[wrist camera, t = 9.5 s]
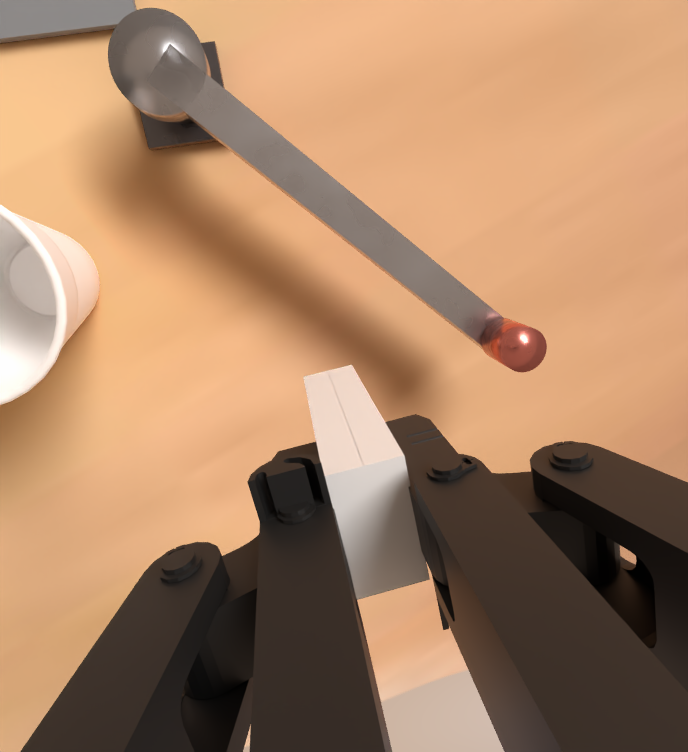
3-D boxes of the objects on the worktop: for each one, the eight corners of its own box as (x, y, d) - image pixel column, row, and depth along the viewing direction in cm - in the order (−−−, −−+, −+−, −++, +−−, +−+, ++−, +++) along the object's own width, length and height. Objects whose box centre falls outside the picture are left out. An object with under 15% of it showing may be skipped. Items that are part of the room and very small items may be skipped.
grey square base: (152, 150, 31) (130, 136, 26) (129, 57, 30) (102, 25, 25) (234, 138, 31) (227, 122, 27) (216, 46, 30) (205, 12, 25)
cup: (102, 181, 31) (14, 155, 21) (152, 337, 34) (97, 384, 23) (-65, 214, 30) (-244, 205, 20) (1, 371, 33) (-125, 435, 23)
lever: (479, 372, 32) (513, 395, 27) (102, 81, 25) (63, 47, 21) (525, 315, 31) (568, 329, 27) (150, 1, 25) (121, -51, 20)
